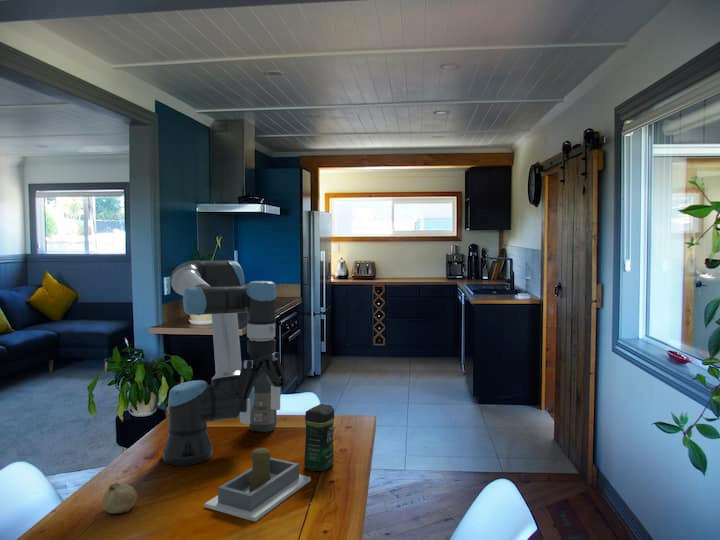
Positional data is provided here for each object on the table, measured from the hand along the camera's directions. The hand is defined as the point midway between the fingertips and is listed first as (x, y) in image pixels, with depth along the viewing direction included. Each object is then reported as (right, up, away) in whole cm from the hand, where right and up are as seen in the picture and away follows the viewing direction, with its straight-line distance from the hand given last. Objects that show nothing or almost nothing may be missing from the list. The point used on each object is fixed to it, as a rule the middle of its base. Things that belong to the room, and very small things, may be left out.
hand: (260, 416), depth 143 cm
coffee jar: (+14, -21, +19) cm, 32 cm away
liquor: (-9, -19, +53) cm, 57 cm away
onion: (-34, -22, -10) cm, 41 cm away
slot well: (0, -21, +1) cm, 21 cm away
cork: (0, -20, +1) cm, 20 cm away
